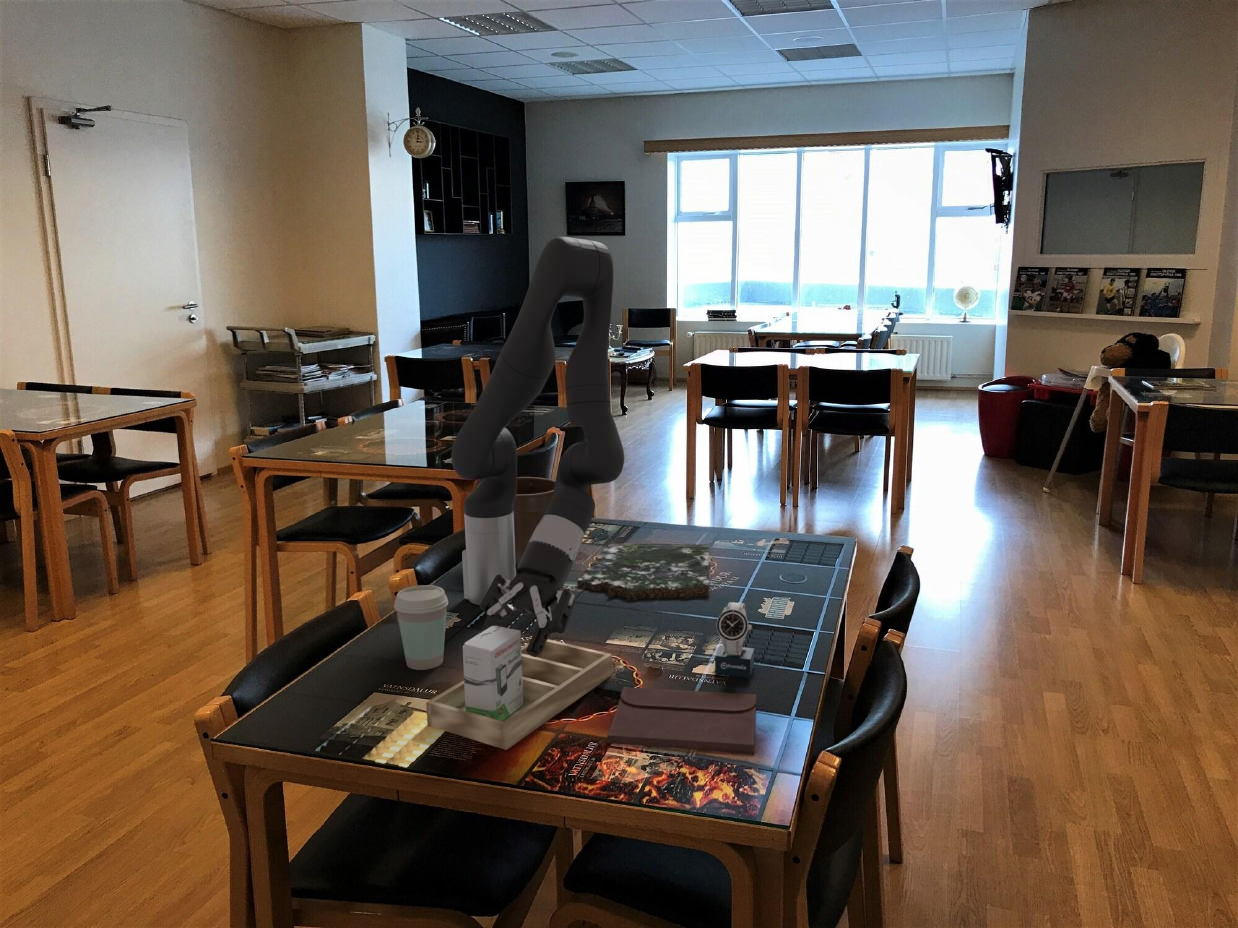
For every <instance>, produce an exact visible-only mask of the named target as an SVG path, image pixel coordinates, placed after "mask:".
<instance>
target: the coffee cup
mask: <svg viewBox="0 0 1238 928" xmlns="http://www.w3.org/2000/svg"><path fill="white" fill-rule="evenodd" d="M448 604H449V600H448V597H447V595H446V592H445V589H443V588H442V587H440V586H437V585H429V584H427V585H426V584H425V585H424V584H423V585H422V584H420V585H414V586H413V585H412V586H409V587H405V588H403V589H401V590H399V591H398V592H397V594H396V598H395V600H394V605H393V608H394V609H395V610H396V615H397V619H398V625H399V631H400V636H401V641H402V647H403V652H404V657H405V662H406V666H407V667H408V668H409V669H412V670H416V671H426V670H431V669H435V668H438V667H439V666H441V665H442V664H443V662H444V653H445V652H444V650H445V636H446V635H445V633H446V620H447V619H446V618H447V606H448Z"/></svg>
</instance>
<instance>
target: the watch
mask: <svg viewBox="0 0 1238 928" xmlns="http://www.w3.org/2000/svg"><path fill="white" fill-rule="evenodd" d="M716 620H717V621H716V630H717V633H718V635H719V639H720V642H721V644H720V645H719V646H718V649H717V651H716V653H715V655H714V675H717V676H718V675H719V676H727V677H737V678H746V679H747V678H748V679H750V678H751V676H752V674H753V671H754V668H755V648H754V647H745V646H743V645H744V644H745V638H746V636H747V634H748V631H751V630H752V624H749V621H748V617H747V612H746V604H745V603H742V602H731V601H729V602H728V603H727V606H724V608H723V610H722V612H721V613H720V615H719V616H718V618H717V619H716Z"/></svg>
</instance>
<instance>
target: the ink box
mask: <svg viewBox="0 0 1238 928" xmlns="http://www.w3.org/2000/svg"><path fill="white" fill-rule="evenodd" d="M521 635H522V634H521V630H519V629H513V628H509V627H503V626H500V625H499V626H491V627H490V628H488V629H486V630H485V631H483V632H481V633H480V632H479V633H478V634H476V635H474V636H473V637H471V638H470V639H468V640H467V641H465V642H464V645H462V662H463V681H464V688H465V710H466V711H468V712H472V713H475V714H479V715H482V716H485V717H489V718H492V719H495V720H499V721H502V722H503V721H504V720H505V719H506V718H508V717H509V716H510V715H511V714H512V713H514V712H515V711H516V710H517V709H518V708H519V707H521V706H522V705H523V686H522V658H521V647H522V636H521Z"/></svg>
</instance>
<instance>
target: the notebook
mask: <svg viewBox="0 0 1238 928" xmlns="http://www.w3.org/2000/svg"><path fill="white" fill-rule="evenodd" d="M756 711H757V694H754V693H736V692H717V691H701V690H698V691H697V690H683V689H666V688H665V689H664V688H649V687H648V688H645V687H628V686H623V688H622V690H621V693H620V698H619V700H618V704H617V706H616V710H615V711H614V714H613V715H614V716H613V718H612V721H611V723H610V726H609V730H608V733H607V737H606V743H607V744H610V745H612V744H613V745H627V746H643V747H657V748H659V747H660V748H670V749H671V748H672V749H687V750H688V749H689V750H703V751H719V752H730V753H732V752H735V753H747V754H755V739H756V736H755V735H756V716H757V715H756Z"/></svg>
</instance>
